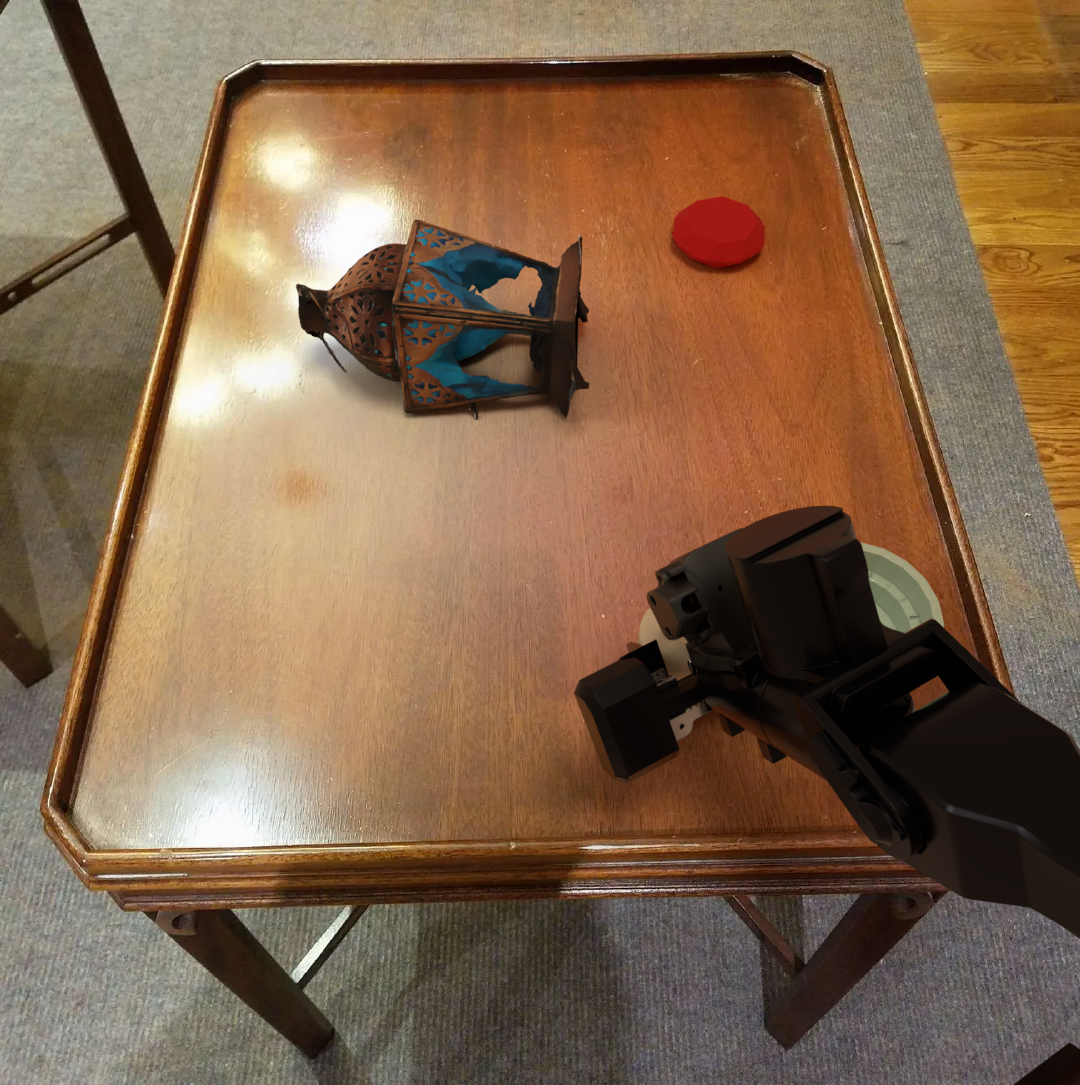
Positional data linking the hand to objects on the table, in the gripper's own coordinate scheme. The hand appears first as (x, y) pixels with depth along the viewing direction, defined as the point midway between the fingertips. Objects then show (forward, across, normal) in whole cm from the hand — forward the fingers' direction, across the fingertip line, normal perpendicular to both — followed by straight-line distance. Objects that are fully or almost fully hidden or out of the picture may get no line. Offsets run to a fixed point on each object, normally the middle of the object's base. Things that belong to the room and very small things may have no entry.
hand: (667, 630), depth 61 cm
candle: (+4, 0, +6) cm, 7 cm away
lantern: (+29, 0, -20) cm, 35 cm away
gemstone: (+31, -30, -21) cm, 48 cm away
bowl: (+2, -13, +8) cm, 15 cm away
